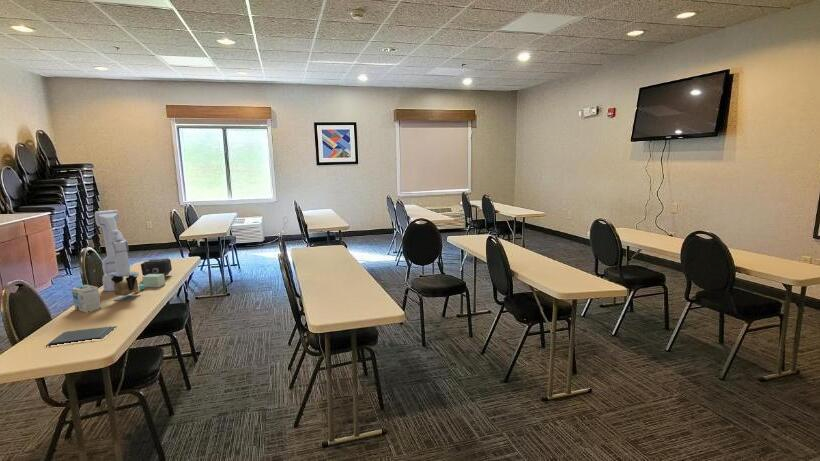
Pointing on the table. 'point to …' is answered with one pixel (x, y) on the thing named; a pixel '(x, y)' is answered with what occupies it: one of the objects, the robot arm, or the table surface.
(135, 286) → the brown box
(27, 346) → the table surface
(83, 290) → the light bulb box
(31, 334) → the table surface
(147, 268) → the camera
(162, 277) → the sage cover
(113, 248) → the robot arm
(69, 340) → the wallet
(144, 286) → the marble
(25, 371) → the table surface
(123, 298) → the slate mat
